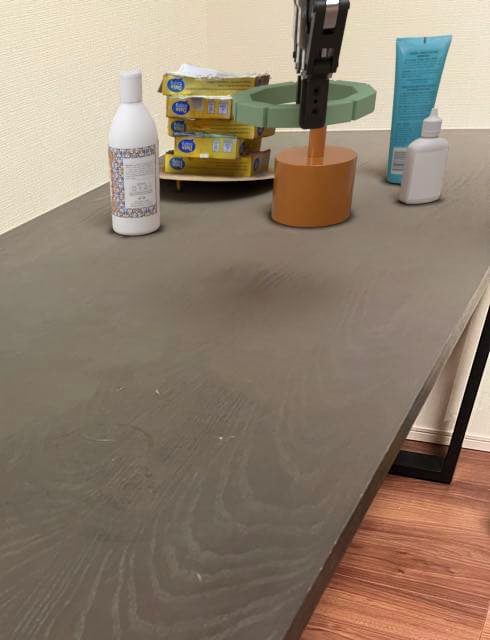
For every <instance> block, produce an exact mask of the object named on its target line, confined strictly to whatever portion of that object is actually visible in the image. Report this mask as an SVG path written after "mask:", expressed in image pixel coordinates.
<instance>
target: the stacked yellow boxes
mask: <svg viewBox="0 0 490 640" xmlns="http://www.w3.org/2000/svg"><path fill="white" fill-rule="evenodd" d="M271 79H272V77H271V74H269V71H268V70H266V72H263V74H261V73H257V72H253V73H249V72H247V73H246V74H244V73H234V72H228V71H223V70H219V69H218V70H217V69H213V68H208V67H203V66H200V65H195V64H192V63H187V62H186V63H185V62H184V63H181V65H180V67H179V68H178V70H177V71H165V73H163V74H162V80H161V81H160V84H159V86H158V88H157V90H156V92H157V93H159V94H161V95H163V96H166V100H165V101H166V102H165V117H166V118H167V136H169V137H170V138H174V139H173V149H169V150H168V151H166V152H165V153H164V154H165V155H164V156H165V157H164V158H165V159H164V164H159V179H163V180H174V181H175V182H176V186H177V187H176V189H178V191H180V192H181V187H183V186H184V184H181V181H194V182H196V181H197V182H198V181H199V182H238V181H241V182H243V181H257V180H258V181H259V180H268V179H274V167H270V160H271V153H272V150H271V149H270V148H267V149H265V150H261V147H262V140H263V138H264V139H265V138H268V137H271V136H274V135H276V129H277V128H267V127H263V128H262V127H257V126H252V125H247V124H242V123H237V121H236V122H235V120H234V117H233V95H235V94H237V93H239V92H242V91H245V90H248V89H250V88H253V87H258V86H263V85H270V80H271Z"/></svg>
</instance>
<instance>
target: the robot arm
mask: <svg viewBox="0 0 490 640" xmlns="http://www.w3.org/2000/svg"><path fill="white" fill-rule="evenodd" d="M292 2H293V20H292V21H293V22H292V34H291V37H292V40H293V51H292V59H293V63H294V70H295V74H296V75H297V76H296V77H297V78H296V82H297V91H296V102H295V104H300V108H299V126H300V127H301V128H300V129H302V130H310V129H318V128H322V127H323V126H324V125H325V122H326V112H327V101H328V90H329V80H330V79H332V78H333V74H336V73H337V71H338V68H339V65H340V57H341V56H340V55H341V50H342V45H343V40H344V35H345V30H346V26H347V25H346V24H347V20H348V14H349V10H350V8H351V1H350V0H292Z"/></svg>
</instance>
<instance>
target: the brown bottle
mask: <svg viewBox="0 0 490 640" xmlns="http://www.w3.org/2000/svg"><path fill="white" fill-rule="evenodd" d="M327 129H328V125H326V126H323V127H322V128H318V129H309V135H308V145H306V146H305V145H304V146H298V147H292V148H287V149H284V150H281V151H279V152H278V153H276V154H275V156H274V165H273V166H274V167H273V168H274V178H272V179H273V180H272V181H273V182H272V195H271V196H272V197H271V210H270V211H271V212H270V213H271V214H270V217H271V219H272V220H273V221H275V222H276V223H278V224H281V225H285V226H289V227H297V228H320V227H329V226H332V225H333V226H334V225H337V224H340V223H343V222H345V221H347V220H348V219H349V218H350V216H351V211H352V202H353V193H354V186H355V176H356V170H357V162H358V152H357V151H356V150H354V149H352V148H349V147H345V146H344V147H343V146H336V145H326V139H327Z"/></svg>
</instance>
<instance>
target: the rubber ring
mask: <svg viewBox="0 0 490 640" xmlns="http://www.w3.org/2000/svg"><path fill="white" fill-rule="evenodd" d="M296 91H297V81H296V82H295V81H291V80H290V81H284V82H276V83H269V85H263V86H258V87H253V88H250V89H248V90H245V91H242V92H239V93H237V94H235V95H233V117H234V120H235V122H236V121H237V123H242V124H247V125H252V126H257V127H262V128H263V127H267V128H276V129H301V127H300V126H299V108H300V104H296ZM376 101H377V90H376V89H375V88H374V87H373V86H371V84H369V83H366V82H359V81H350V80H343V79H337V80H334V79H329V90H328V101H327V112H326V122H325V125H324V126H326V125H327V126H332V125H339V124H344V123H351V122H352V121H355V122H356V121H357V120H359V119H361V118H364V117H365V116H368V115H370V114H372V113H374V111H375V108H376Z"/></svg>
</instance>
